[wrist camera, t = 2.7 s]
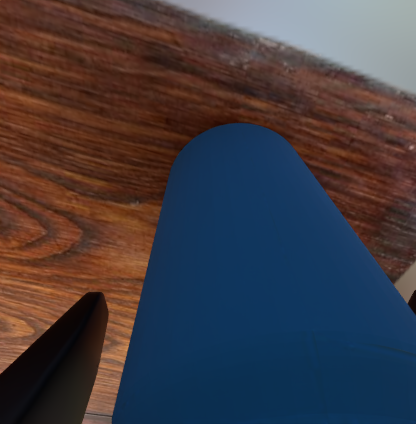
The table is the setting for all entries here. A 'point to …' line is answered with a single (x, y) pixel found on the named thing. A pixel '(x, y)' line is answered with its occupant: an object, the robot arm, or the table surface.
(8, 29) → the table surface
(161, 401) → the beverage can
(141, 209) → the table surface
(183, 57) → the table surface
